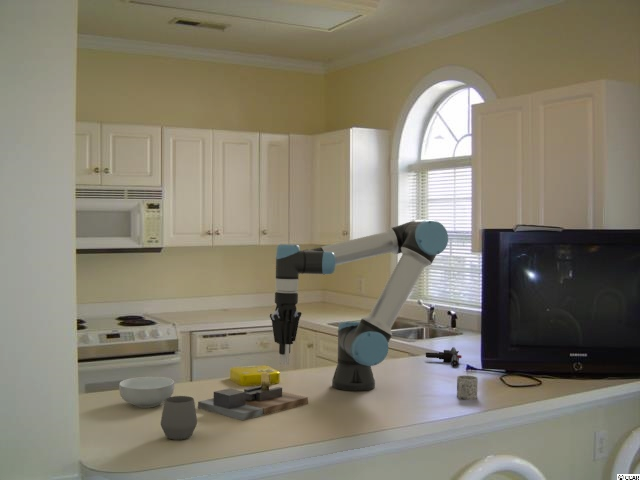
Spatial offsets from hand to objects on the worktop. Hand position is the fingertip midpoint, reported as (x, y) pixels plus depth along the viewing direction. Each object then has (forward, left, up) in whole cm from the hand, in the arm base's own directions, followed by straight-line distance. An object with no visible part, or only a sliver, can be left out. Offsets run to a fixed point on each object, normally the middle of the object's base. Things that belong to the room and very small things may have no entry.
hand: (284, 363), depth 232 cm
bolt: (+12, 0, -9) cm, 15 cm away
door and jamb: (+15, 0, -11) cm, 19 cm away
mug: (-43, +42, -12) cm, 62 cm away
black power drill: (-95, +3, -12) cm, 96 cm away
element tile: (-12, -27, -12) cm, 32 cm away
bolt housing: (+16, 0, -9) cm, 18 cm away
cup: (+51, +10, -12) cm, 53 cm away
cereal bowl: (+36, -25, -12) cm, 45 cm away
